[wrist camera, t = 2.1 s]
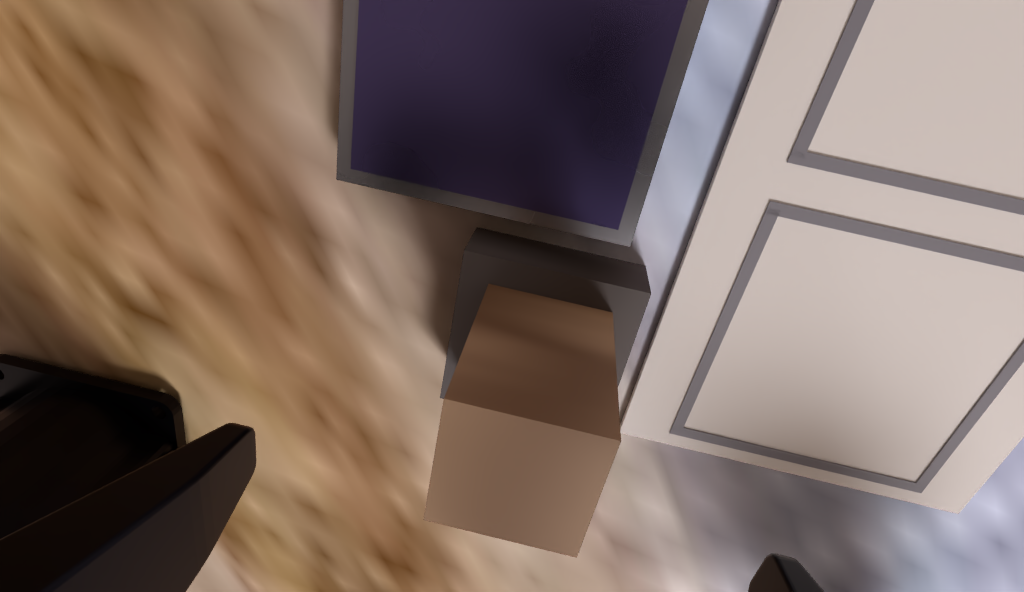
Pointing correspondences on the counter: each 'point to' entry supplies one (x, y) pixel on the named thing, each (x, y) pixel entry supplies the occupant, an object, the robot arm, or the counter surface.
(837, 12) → the form sheet
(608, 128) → the ink pad
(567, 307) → the stamp
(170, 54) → the counter surface
